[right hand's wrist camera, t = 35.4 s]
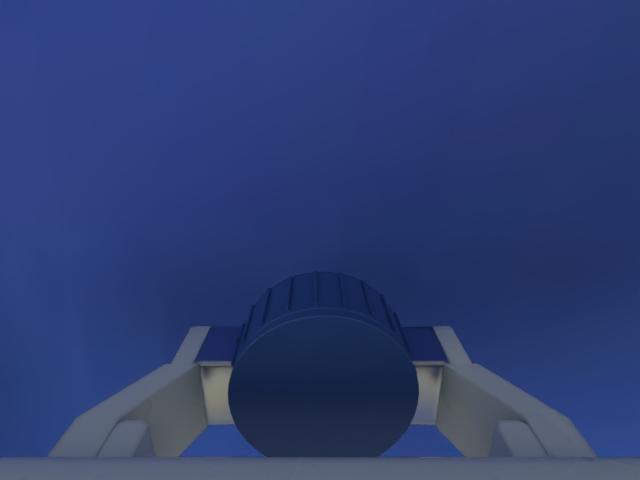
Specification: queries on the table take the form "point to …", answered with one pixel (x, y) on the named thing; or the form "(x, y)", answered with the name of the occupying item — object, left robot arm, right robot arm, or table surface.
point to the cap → (322, 371)
